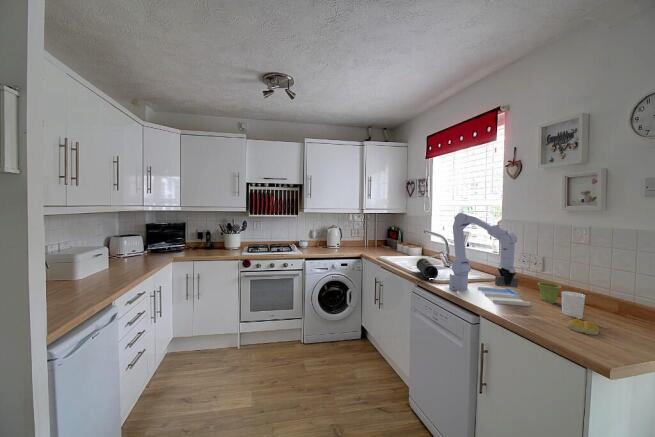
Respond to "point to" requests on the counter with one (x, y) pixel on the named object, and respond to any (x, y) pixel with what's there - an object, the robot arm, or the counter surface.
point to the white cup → (573, 304)
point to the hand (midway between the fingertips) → (505, 284)
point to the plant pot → (549, 292)
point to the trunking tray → (503, 296)
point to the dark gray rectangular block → (500, 282)
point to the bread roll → (583, 327)
